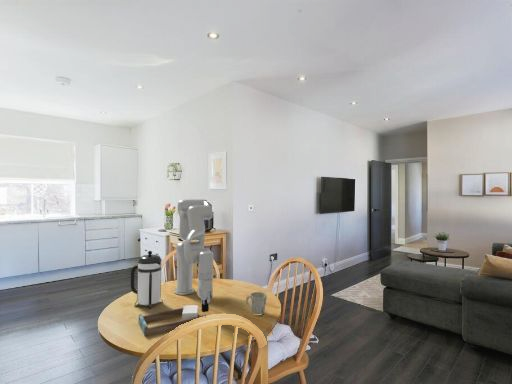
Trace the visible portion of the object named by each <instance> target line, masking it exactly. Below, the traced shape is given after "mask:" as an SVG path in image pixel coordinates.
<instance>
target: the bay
mask: <svg viewBox="0 0 512 384" xmlns="http://www.w3.org/2000/svg"><path fill="white" fill-rule="evenodd" d="M183 308H184V307H180V308H176V309H171V310H165V311H161V312H155V313H150V314H145V315H143V314H142V313H139V314H138V325H139V328H140V329H141V332H142V333H143V337H147V336H152V335H156V334H160V332H161V333H165V332H169V331H173V329H174V330H176V329H175V328H176V327H178V326H179V325H181V324H184V323H186V322H189V321H191V320H193V319H196V318H199V317H203V316H205V317H206V314H205V315H200V316H198V317H194V318H190V319H185V320H182V319H181V320H177V321H172V322H168V323H161V324H159V325H154V326H150V327H149V326H148V324H147V323H150V322H155V321H159V320H164V319H168V318H173V317H177V316H182V313H183ZM164 331H165V332H164Z"/></svg>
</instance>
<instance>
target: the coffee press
mask: <svg viewBox="0 0 512 384" xmlns="http://www.w3.org/2000/svg"><path fill="white" fill-rule="evenodd" d="M162 260H163V259H162V258H161V256H160V255H158V254H153V251H151V250H148V252H147V254H144V255H142V256H140V257H138V260H137V264H136V265H135V266H133V267H132V268H131V271H130V289H131V292H132V293H134V294H136V301H135V303H134V307H138V306H139V305H141V306H148V310H149V309H150V310H151V309H152V306H153V305H155V304H158V303H160V304H162V303H163V299H162V298H161V297H162V296H161V295H162ZM136 270H137V275H136V274H135V272H136ZM135 275H136V276H137V278H136V281H137V282H136V287H135ZM136 288H137V289H136ZM137 303H138V304H137Z"/></svg>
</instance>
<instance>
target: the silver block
mask: <svg viewBox="0 0 512 384" xmlns="http://www.w3.org/2000/svg"><path fill="white" fill-rule="evenodd" d="M182 308H183V313H182V315H181V320H185V319H190V318H194V317H199V316H198V315H199V305H198V304H192V305H191V304H189V305H187V304H186V305H183V307H182Z"/></svg>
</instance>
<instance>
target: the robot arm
mask: <svg viewBox="0 0 512 384" xmlns="http://www.w3.org/2000/svg"><path fill="white" fill-rule="evenodd" d="M213 211H214V210H213V209H212V206H211V205H210V204H209V203H208V202H207V200H204V199H181V200H179V201H178V202H177V213H178V215H179V232H178V233H179V238H180V240H182V241H181V242H178V244H177V245H176V246H175V249H176V252H175V253H176V262H177V264H176V265H177V266H176V268H177V269H176V271H177V272H176V288H175V289H174V290H173V291H174V292H173V293H174V295H175V294H176V295H178V296H179V295H181V296H183V295H184V296H185V295H186V296H187V295H190V294H193V293H194V292H195V291H196V290H195V288H194V287H193V270H194V268H193V267H194V265H193V264H198V270H197V271H198V273H197V275H198V277H197V280H198V281H197V291H196V293H197V296H198V298H200V300H201V313H207V312H209V310H210V309H209V305H210V303H211V300H212V299H213V296H214V293H213V291H214V289H213V279H214V252H213V251H211V249H210V248H207V247H205V238H206V236H205V235H206V226H205V220H206V221H209V220H211V219H212V218H213V214H214V213H213ZM195 240H196V241H195Z"/></svg>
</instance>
